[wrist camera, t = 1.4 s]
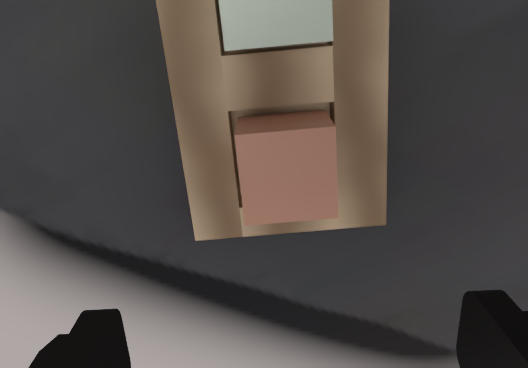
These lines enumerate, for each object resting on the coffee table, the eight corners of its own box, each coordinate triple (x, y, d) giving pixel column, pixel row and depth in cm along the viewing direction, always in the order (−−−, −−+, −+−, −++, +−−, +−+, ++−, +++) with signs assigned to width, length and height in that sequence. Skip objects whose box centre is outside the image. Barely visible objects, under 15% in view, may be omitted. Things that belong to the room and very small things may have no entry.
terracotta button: (324, 109, 25) (335, 126, 22) (327, 189, 27) (338, 217, 23) (237, 117, 25) (234, 135, 22) (246, 196, 27) (244, 225, 23)
